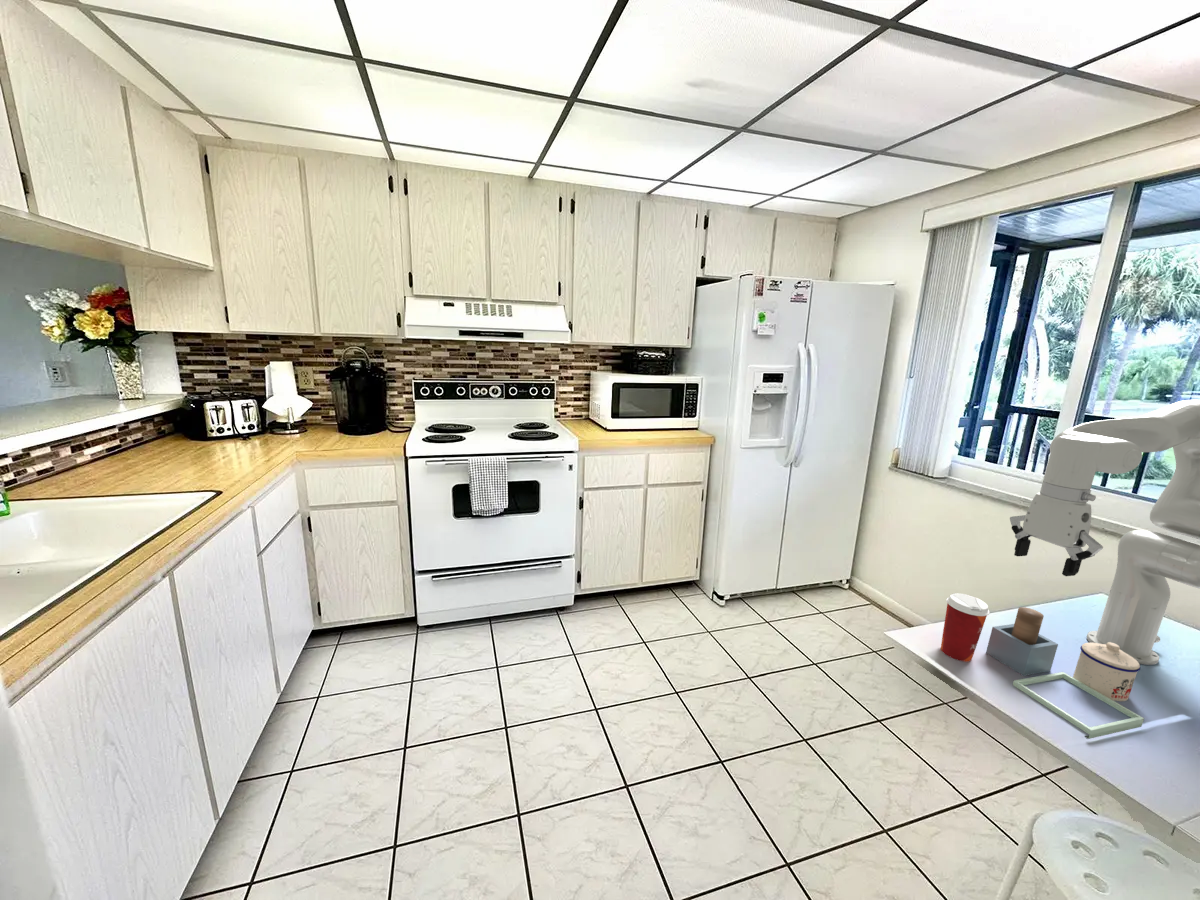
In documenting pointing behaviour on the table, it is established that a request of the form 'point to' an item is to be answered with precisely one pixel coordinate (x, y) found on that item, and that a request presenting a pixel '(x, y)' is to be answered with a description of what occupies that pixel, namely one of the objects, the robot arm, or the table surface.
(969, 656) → the coffee cup
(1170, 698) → the table surface
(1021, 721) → the table surface
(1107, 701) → the tray
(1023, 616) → the peg
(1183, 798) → the table surface
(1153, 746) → the table surface
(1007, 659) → the deep square box
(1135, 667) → the teacup with lid
